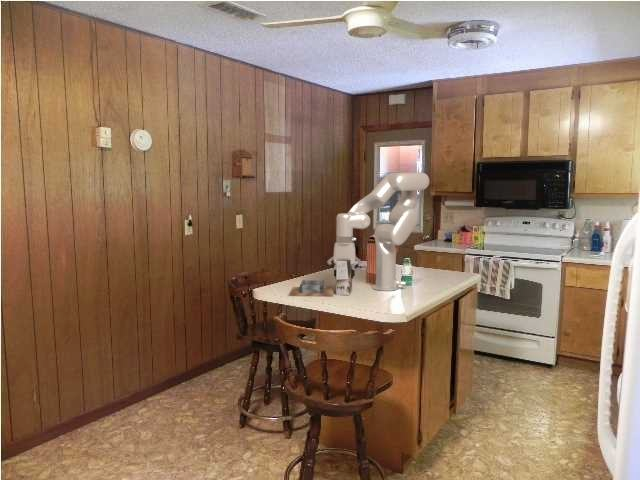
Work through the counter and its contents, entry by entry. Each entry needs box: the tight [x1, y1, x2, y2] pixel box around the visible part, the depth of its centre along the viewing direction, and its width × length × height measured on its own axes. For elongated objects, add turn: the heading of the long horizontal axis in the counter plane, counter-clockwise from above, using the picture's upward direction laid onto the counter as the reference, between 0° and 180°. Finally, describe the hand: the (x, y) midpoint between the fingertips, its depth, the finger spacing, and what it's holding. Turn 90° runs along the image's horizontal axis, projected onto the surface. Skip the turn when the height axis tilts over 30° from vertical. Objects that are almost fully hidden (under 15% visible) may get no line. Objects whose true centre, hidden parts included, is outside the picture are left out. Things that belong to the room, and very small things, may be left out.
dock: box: [288, 279, 335, 298], centre depth 231 cm, size 20×15×5 cm
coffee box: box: [335, 260, 353, 296], centre depth 230 cm, size 9×6×16 cm
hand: (344, 277), depth 230 cm, fingers closed on coffee box, 6 cm apart
